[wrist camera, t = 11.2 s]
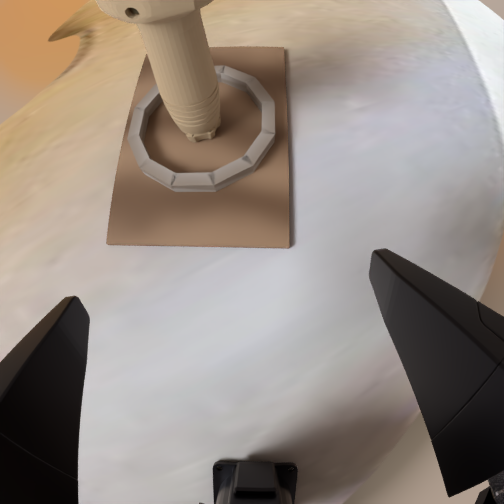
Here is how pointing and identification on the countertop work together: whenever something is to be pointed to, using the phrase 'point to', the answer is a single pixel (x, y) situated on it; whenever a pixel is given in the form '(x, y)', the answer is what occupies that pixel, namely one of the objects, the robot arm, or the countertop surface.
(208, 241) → the socket board
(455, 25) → the countertop surface
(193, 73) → the handle
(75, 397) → the robot arm
